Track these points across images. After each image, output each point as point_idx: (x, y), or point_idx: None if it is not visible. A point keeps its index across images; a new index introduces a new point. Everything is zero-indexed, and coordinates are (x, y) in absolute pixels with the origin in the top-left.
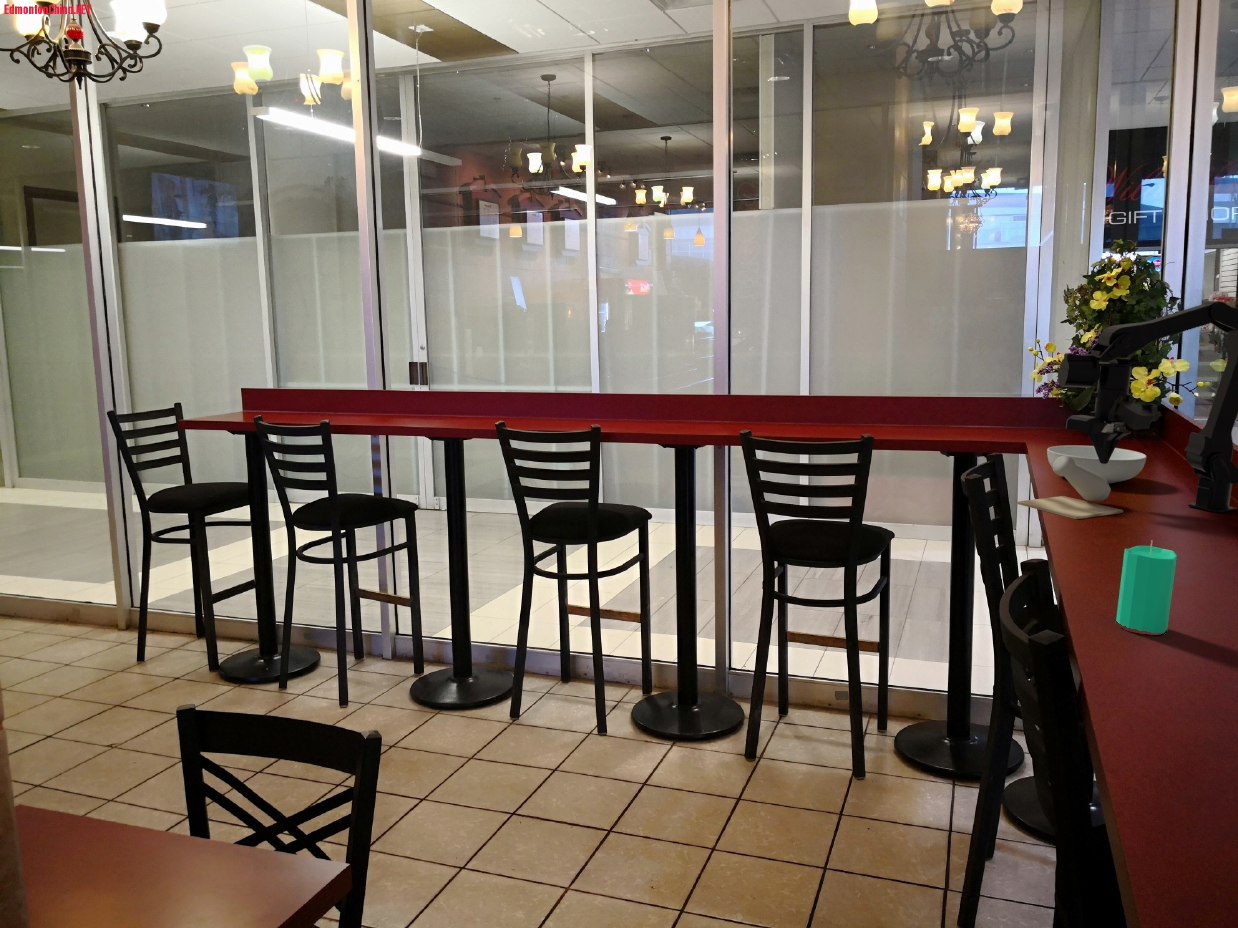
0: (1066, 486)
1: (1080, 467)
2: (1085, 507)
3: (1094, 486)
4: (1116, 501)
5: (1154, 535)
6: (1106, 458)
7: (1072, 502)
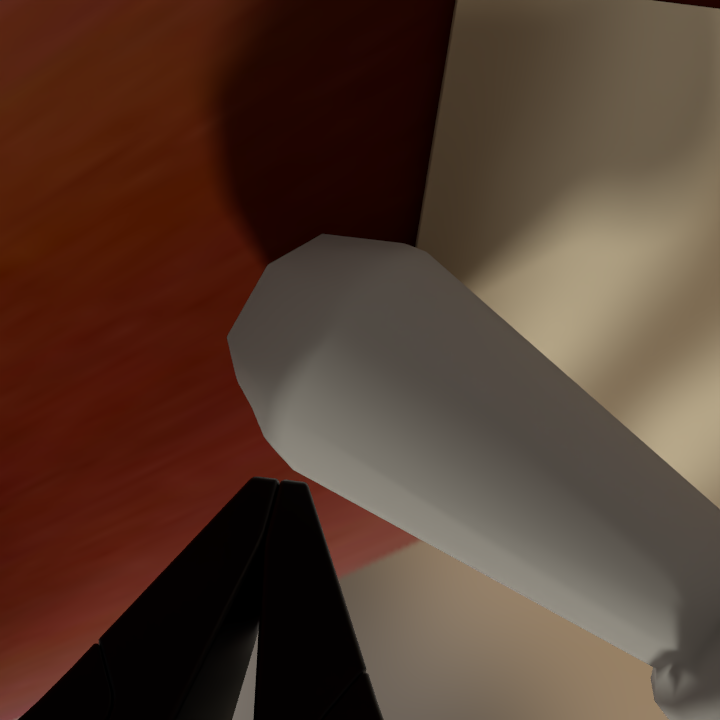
0: (67, 593)
1: (614, 552)
2: (631, 225)
3: (500, 323)
4: (106, 258)
5: None
6: (298, 528)
7: None
